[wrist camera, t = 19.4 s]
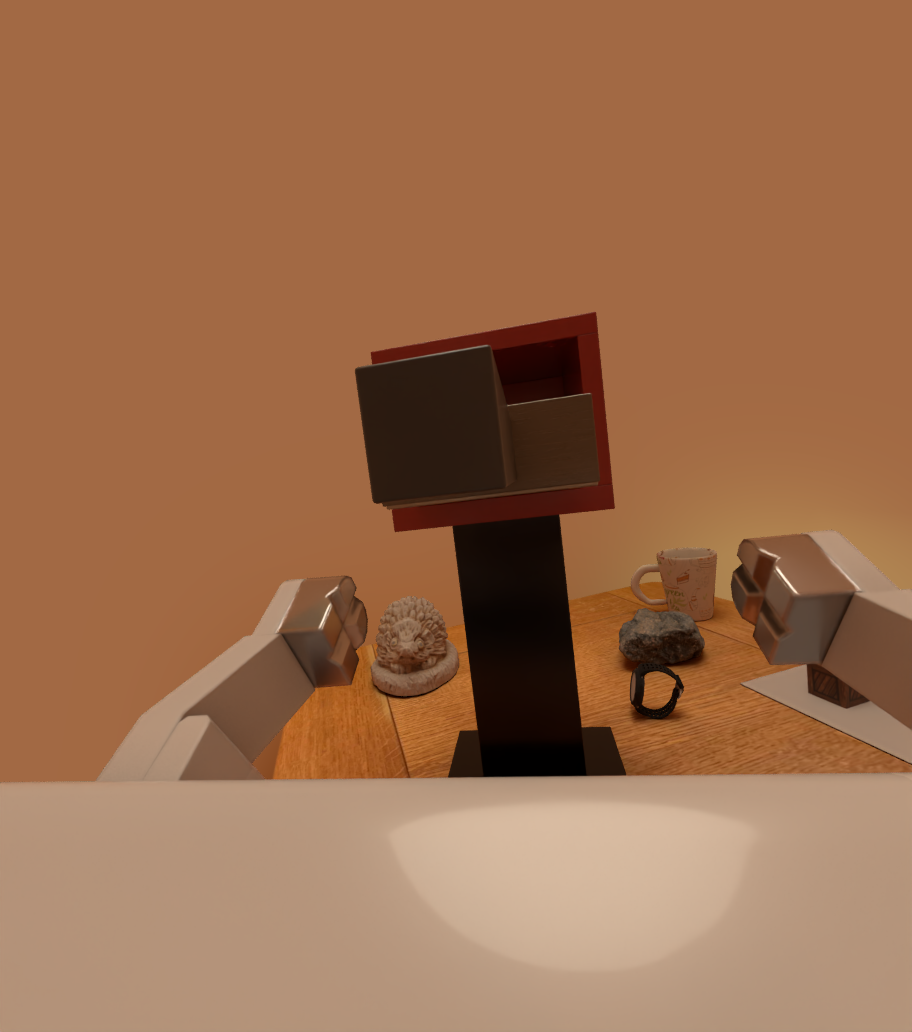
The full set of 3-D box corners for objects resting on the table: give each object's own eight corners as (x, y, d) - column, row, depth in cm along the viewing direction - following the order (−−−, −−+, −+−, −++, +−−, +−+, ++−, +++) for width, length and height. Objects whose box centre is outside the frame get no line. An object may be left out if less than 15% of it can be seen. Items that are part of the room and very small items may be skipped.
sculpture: (360, 703, 54) (349, 623, 53) (386, 650, 70) (377, 588, 70) (457, 693, 53) (447, 612, 52) (460, 642, 70) (452, 580, 69)
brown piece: (698, 501, 9) (680, 282, 8) (227, 551, 10) (197, 371, 10) (576, 481, 29) (570, 418, 29) (425, 499, 31) (418, 440, 31)
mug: (728, 623, 64) (723, 556, 63) (636, 625, 68) (630, 561, 67) (713, 606, 72) (708, 546, 71) (631, 608, 76) (626, 551, 75)
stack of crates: (916, 766, 33) (912, 678, 32) (739, 683, 47) (735, 622, 47) (1042, 716, 37) (1040, 636, 36) (843, 654, 51) (839, 596, 51)
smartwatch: (635, 701, 46) (631, 655, 46) (689, 712, 43) (685, 663, 43) (623, 720, 43) (618, 671, 43) (681, 734, 40) (676, 681, 40)
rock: (653, 633, 64) (650, 600, 63) (724, 652, 55) (721, 613, 55) (593, 659, 58) (589, 622, 57) (662, 685, 49) (658, 642, 49)
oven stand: (647, 853, 28) (596, 311, 26) (436, 849, 31) (370, 351, 28) (611, 742, 40) (573, 362, 38) (461, 745, 42) (416, 387, 40)
